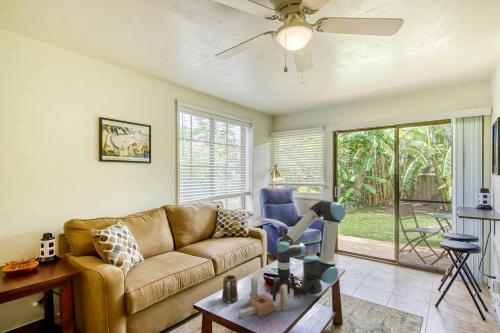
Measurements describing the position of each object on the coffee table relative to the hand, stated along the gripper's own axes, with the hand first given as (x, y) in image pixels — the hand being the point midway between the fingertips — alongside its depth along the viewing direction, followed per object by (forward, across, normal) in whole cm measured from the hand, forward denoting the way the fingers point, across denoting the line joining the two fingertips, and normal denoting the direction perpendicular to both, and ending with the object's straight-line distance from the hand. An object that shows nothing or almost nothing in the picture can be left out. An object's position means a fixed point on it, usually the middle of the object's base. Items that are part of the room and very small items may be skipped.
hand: (283, 302), depth 159 cm
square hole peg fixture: (+5, +15, -12) cm, 20 cm away
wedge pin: (+5, 0, 0) cm, 5 cm away
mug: (+5, +22, -28) cm, 36 cm away
